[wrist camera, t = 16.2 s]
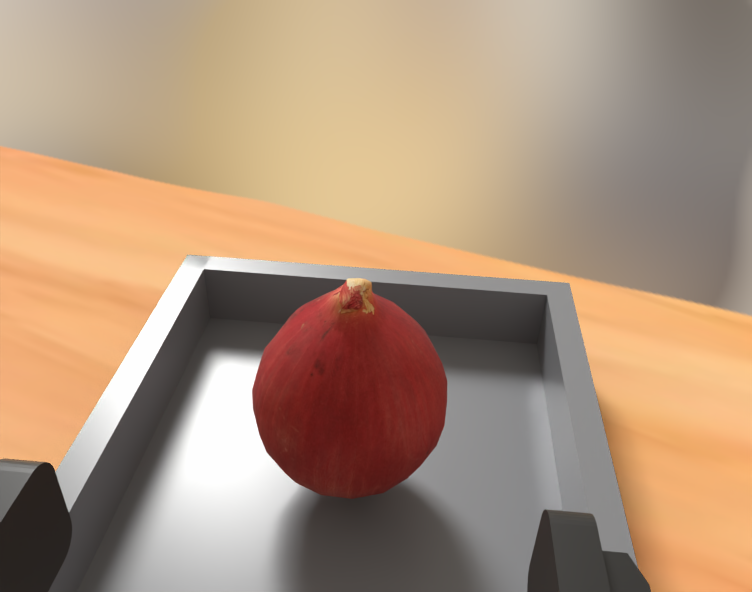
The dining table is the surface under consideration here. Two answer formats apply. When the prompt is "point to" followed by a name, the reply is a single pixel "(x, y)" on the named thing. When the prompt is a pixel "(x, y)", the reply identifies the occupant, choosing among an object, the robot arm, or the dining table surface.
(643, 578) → the robot arm
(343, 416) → the onion
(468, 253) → the dining table surface
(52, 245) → the dining table surface
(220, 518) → the tray
